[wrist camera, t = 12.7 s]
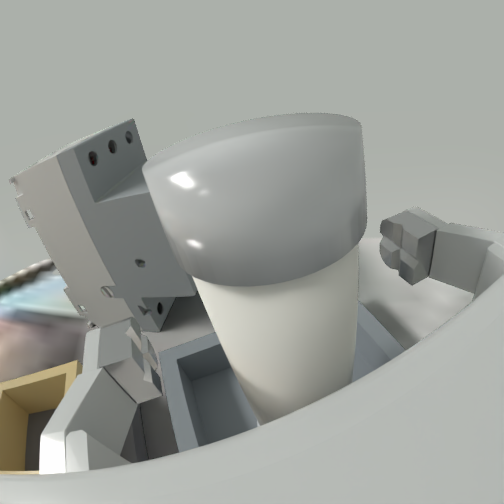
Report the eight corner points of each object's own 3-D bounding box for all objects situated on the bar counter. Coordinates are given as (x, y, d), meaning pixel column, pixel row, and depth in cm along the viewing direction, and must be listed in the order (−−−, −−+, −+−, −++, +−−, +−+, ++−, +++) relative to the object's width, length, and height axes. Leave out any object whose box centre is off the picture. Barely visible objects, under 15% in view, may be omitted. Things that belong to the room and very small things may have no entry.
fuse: (283, 482, 11) (139, 207, 4) (252, 415, 15) (143, 151, 7) (364, 443, 12) (411, 130, 4) (325, 383, 15) (296, 108, 8)
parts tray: (245, 581, 7) (227, 590, 5) (177, 379, 18) (158, 352, 17) (466, 467, 9) (491, 448, 7) (339, 312, 20) (339, 280, 19)
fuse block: (18, 527, 8) (-32, 504, 5) (22, 401, 17) (-12, 368, 15) (165, 530, 10) (116, 518, 7) (135, 370, 19) (104, 328, 17)
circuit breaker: (234, 333, 21) (161, 115, 13) (88, 327, 24) (7, 180, 16) (250, 268, 27) (206, 96, 19) (121, 276, 30) (64, 145, 22)
